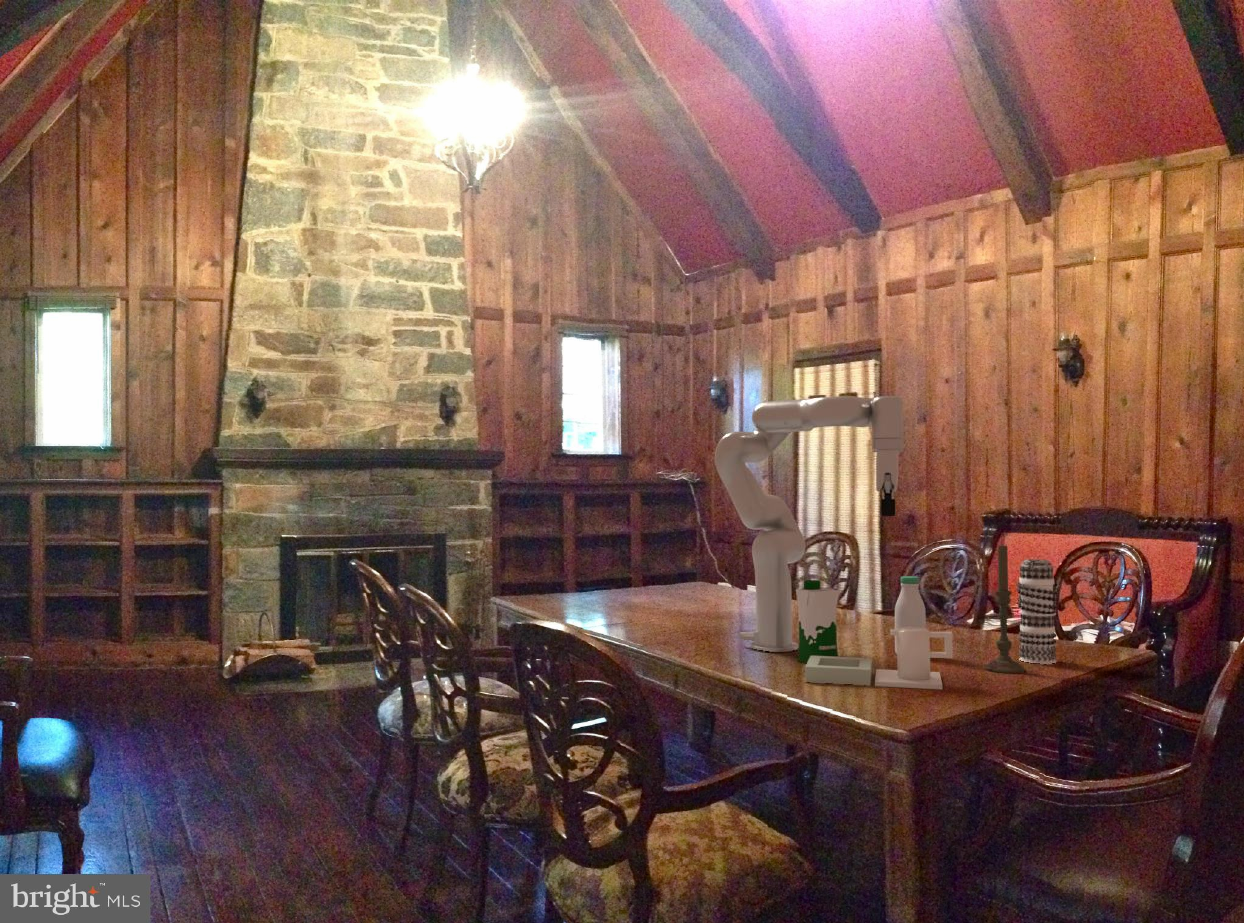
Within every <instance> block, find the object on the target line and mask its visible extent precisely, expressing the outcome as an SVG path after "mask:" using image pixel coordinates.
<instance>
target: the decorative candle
mask: <svg viewBox="0 0 1244 923" xmlns="http://www.w3.org/2000/svg"><path fill="white" fill-rule="evenodd" d="M1018 566H1019V579H1018V582H1017V583H1016V586H1017V590H1016V592H1017V593H1018V594H1019V596H1018V597H1017V598H1016V599H1017V601H1018V602H1019V603H1018V604H1017V606H1018V608H1019V609H1020V610H1019V611H1018V614H1020V624H1019V630H1020V631H1019V632H1018V634H1019V636H1021V637H1020V638H1018V641H1019V642H1020V644H1019V645H1018V649H1019V652H1018V655H1019V656H1020V657H1019V659H1018V660H1019V661H1020V660H1021V661H1024V662H1023V663H1025V662H1029V663H1028V664H1030V663H1040V664H1039V665H1044V664H1046V665H1053V664H1052V663H1055V664H1057V663H1056V662H1058V661H1057V660H1056V658H1057V656H1058V655H1057V653H1056V652H1057V650H1058V649H1057V647H1056V646H1055V644H1056V643H1057V640H1056V639H1055V638H1056V637H1057V634H1056V627H1055V625H1054V624H1055V618H1054V617H1055V616H1056V615H1057V613H1056V611H1055V610H1056V609H1057V606H1056V605H1055V604H1054V602H1057V601H1058V598H1057V597H1055V596H1056V595H1057V594H1058V592H1057V591H1056V590H1055V589H1054V588H1057V586H1058V584H1057V582H1055V578H1054V567H1056V566H1054V565H1052V563H1051V561H1050V560H1048V559H1042V558H1027V559H1025V560H1023V561H1022V563H1021V564H1019V565H1018ZM1021 661H1020V662H1021Z"/></svg>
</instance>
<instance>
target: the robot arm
mask: <svg viewBox="0 0 1244 923" xmlns="http://www.w3.org/2000/svg"><path fill="white" fill-rule="evenodd" d="M751 419H752V424H753V426H755V430H754V431H732V432H729V433H727V434H725V435H723V437H721V438H720V440H719V441H718V443H717V445H716V447H715V451H714V452H715V453H714V465H715V469H716V471H717V473H718V476H719V477H720V479H721V482H722V483H723V485H724V487H725V489H726V490H727V493H728V495H729V498H730V500H731V502H732V503H733V506H734V507H735V510H736V511H737V513H738V516H739V518H740V520H741V522H742V524H743V525H744V526H745V527H746V528H747V529H750V530H759V531H760V530H764V531H763V532H761V533H759V534H758V535H757V536H756V537H755V539H754V540H753V543H752V546H751V555H752V560H753V568H754V577H755V578H754V580H755V630H754V631H751V632H748V631H747V632H743V631H741V632H740V633H739V640H743V641H751V643H750V648H751V647H752V648H753V649H752V648H751V649H752V650H754V649H757V650H756V651H758V650H763V651H762V652H765V651H769V652H768V653H789V652H794V651H797V650H799V643H796V642H793V623H792V621H793V617H792V616H793V613H792V612H793V610H792V609H793V608H792V602H793V601H792V600H793V599H792V578H791V572H790V568H789V565H790V564H794V563H797V562H798V561H800V560H801V559H802V558H803V557H804V555H805V553H806V552H805V551H806V540H805V538H804V536H803V533H802V531H801V529H800V528H799V525H798V524H797V521H796V520H795V518H794V516H793V513H792V511H791V509H790V508H789V506H788V504H787V503H786V502H785V501H784V500H783V499H782V498H781V497H779V496H777V495H774V494H765V493H764V491H763V489H762V488H761V486H760V485H759V482H758V480H757V478H756V476H755V475H754V473H752V471H751V470H750V469H749V468H748V466H747V465H746V463H751V464H753V463H754V464H755V463H756V464H757V463H761V462H763V461H765V460H767V459H768V458H769V457H770V456H771V455H772V454H773V453H774V452H775V451H776V449H778V447H780V445H781V444H782V443H783V442H784V441H785V440H786V439H787V438H788V436H790V435H791V433H792V432H793V433H794V432H795V433H796V432H811V431H813V429H817V428H823V427H824V428H827V427H829V428H830V427H852V428H853V427H854V428H869V427H871V449H872V450H871V452H872V453H876V458H875V486H876V488H875V490H876V491H877V492H880V490H881V500H880V502H881V503H880V504H881V505H880V507H881V508H880V511H881V512H880V513H881V514H880V515H881V517H895V516H896V498H895V492H896V491H897V489H898V482H899V453H903V452H905V451H904V402H903V399H902V397H900V396H896V395H883V396H882V395H881V396H876V397H874V398H867V397H860V396H854V395H853V396H852V395H839V396H836V395H835V396H824V397H823V396H822V397H815V398H814V397H813V398H801V399H785V400H784V399H783V400H772V401H764V402H762V403H759V404H758V405H756V406H755V407H754V409H753V410H752V414H751ZM793 650H794V651H793Z"/></svg>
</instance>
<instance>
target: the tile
mask: <svg viewBox="0 0 1244 923" xmlns="http://www.w3.org/2000/svg"><path fill="white" fill-rule="evenodd" d="M874 687H883V688H885V687H887V688H888V687H889V688H907V689H926V690H943V681H942V678H941V673H940V671H930V679H926V680H907V679H902V678H899V677H898V669H879V668H877V669H875V676H874Z"/></svg>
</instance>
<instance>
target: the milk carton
mask: <svg viewBox="0 0 1244 923" xmlns="http://www.w3.org/2000/svg"><path fill="white" fill-rule="evenodd" d="M795 592H796V594H795V595H796V599H797V604H798V657H797V658H798V661H801V662H800V663H802V662H803V664H806V663H807V662H808V660H809V658H810V656H833V657H839V652H838V637H837V636H838V635H837V634H838V633H837V628H838V626H837V608H838V607H837V606H838V601H839V598H840V596H839V595H840V590H836V589H833V588H824V587H821V580H818V579H817V580H816V579H806V580H803V588H797V589H795Z"/></svg>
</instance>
